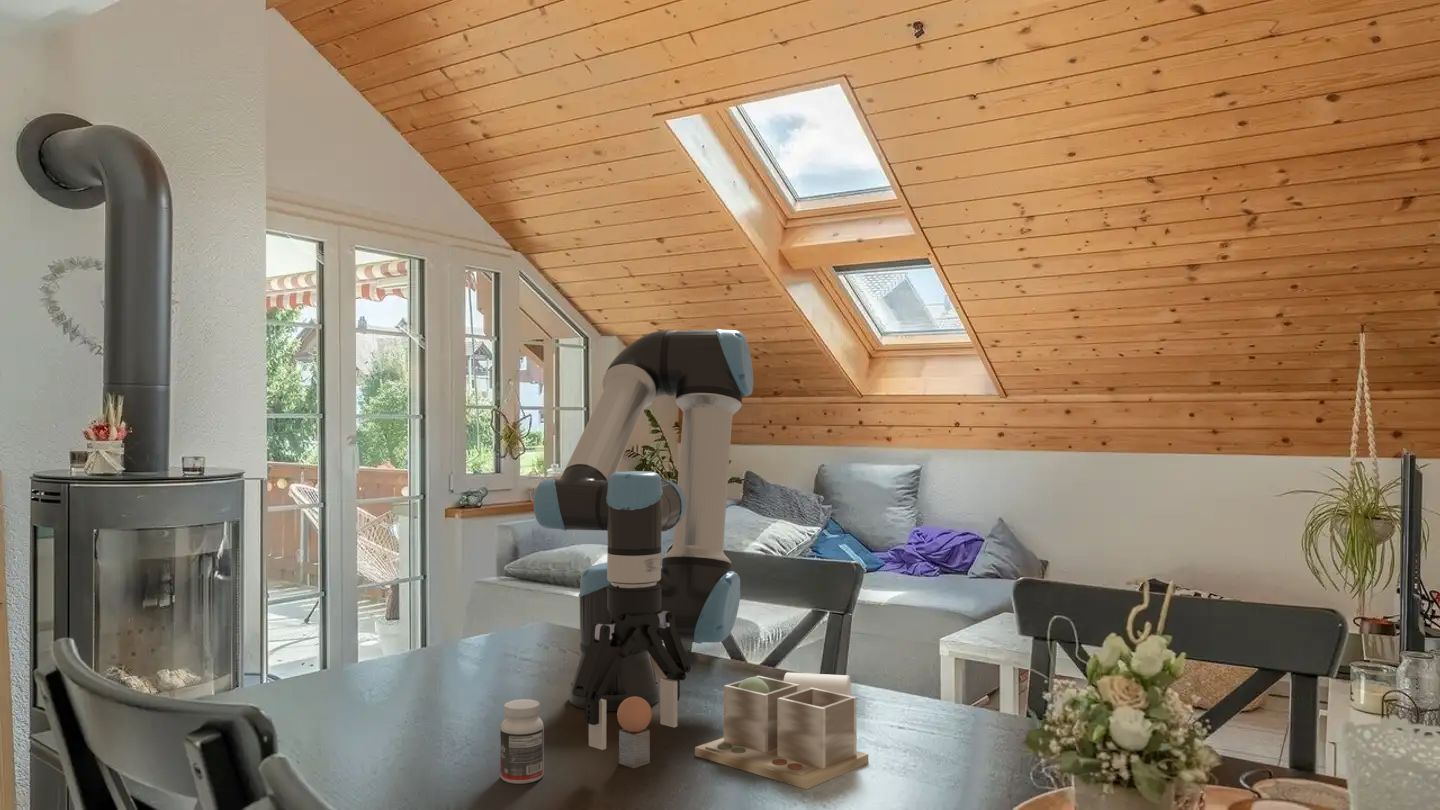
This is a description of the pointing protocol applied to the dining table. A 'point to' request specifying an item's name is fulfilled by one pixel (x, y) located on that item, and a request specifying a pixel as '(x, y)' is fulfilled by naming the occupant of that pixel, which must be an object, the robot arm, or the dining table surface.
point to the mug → (821, 682)
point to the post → (634, 748)
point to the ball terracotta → (634, 714)
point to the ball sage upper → (754, 685)
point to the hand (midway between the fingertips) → (634, 736)
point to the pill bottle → (522, 742)
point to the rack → (787, 733)
